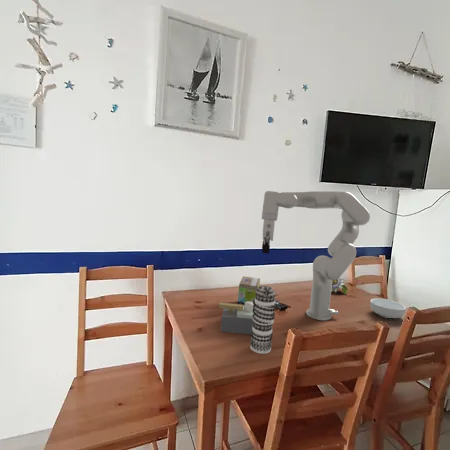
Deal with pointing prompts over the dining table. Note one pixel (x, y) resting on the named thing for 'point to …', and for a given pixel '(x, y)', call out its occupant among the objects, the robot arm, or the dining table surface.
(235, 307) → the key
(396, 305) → the cereal bowl
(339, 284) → the passion flower
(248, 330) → the case
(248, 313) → the lid
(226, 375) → the dining table surface
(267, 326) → the decorative candle
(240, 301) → the tea box
